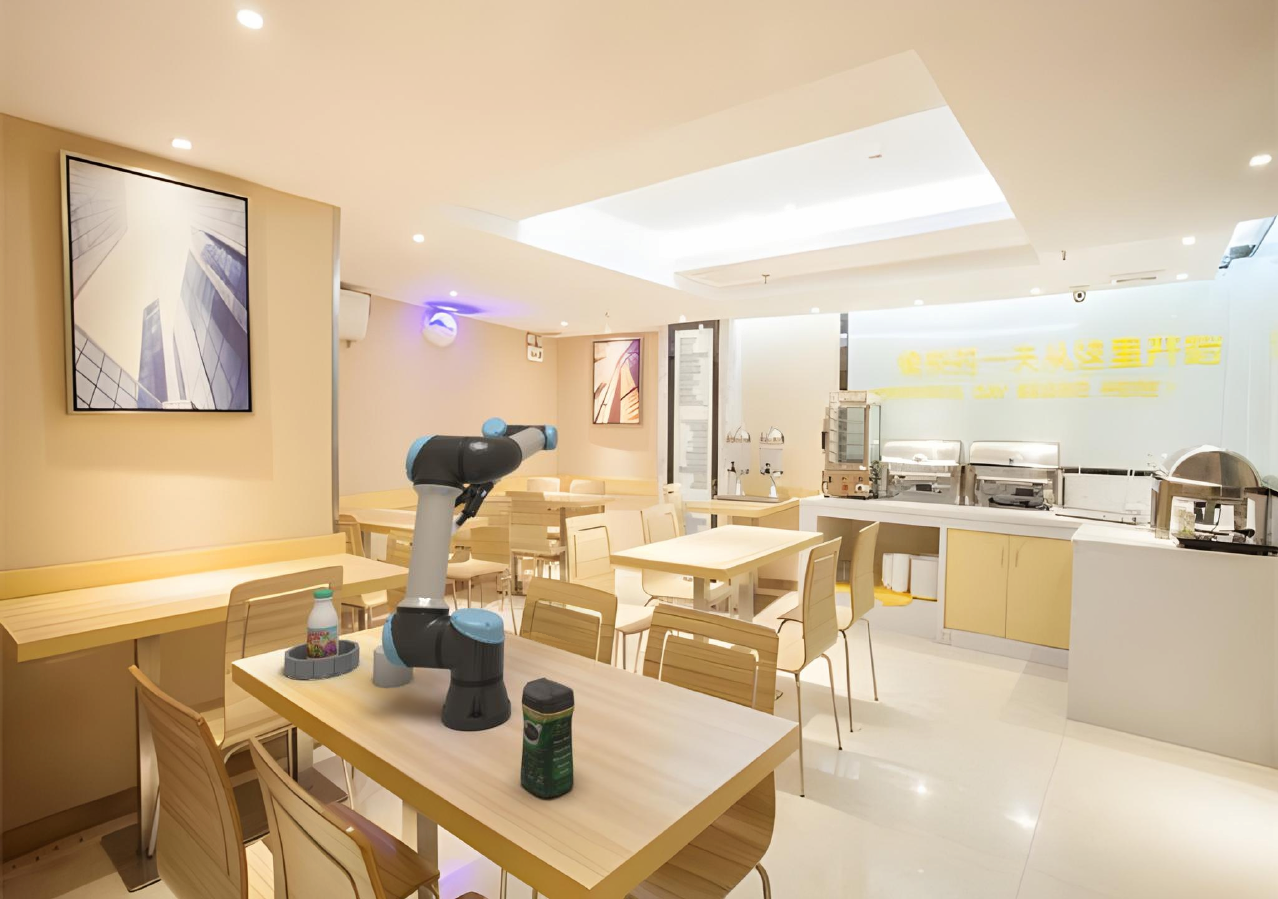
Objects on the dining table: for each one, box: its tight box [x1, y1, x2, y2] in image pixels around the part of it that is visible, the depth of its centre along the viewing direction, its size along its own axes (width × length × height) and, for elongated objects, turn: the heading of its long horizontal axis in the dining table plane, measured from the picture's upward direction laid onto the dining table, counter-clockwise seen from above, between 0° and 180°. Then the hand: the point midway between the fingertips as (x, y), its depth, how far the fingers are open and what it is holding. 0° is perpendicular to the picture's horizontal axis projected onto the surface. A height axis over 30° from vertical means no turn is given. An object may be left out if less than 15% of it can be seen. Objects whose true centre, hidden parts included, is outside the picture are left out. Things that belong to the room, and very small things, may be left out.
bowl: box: [283, 639, 360, 680], centre depth 173 cm, size 18×18×5 cm
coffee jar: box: [520, 677, 576, 798], centre depth 116 cm, size 10×8×19 cm
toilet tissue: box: [372, 644, 414, 689], centre depth 166 cm, size 9×13×9 cm
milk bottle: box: [306, 588, 340, 660], centre depth 173 cm, size 8×8×20 cm
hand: (438, 530), depth 188 cm, fingers open, 13 cm apart
